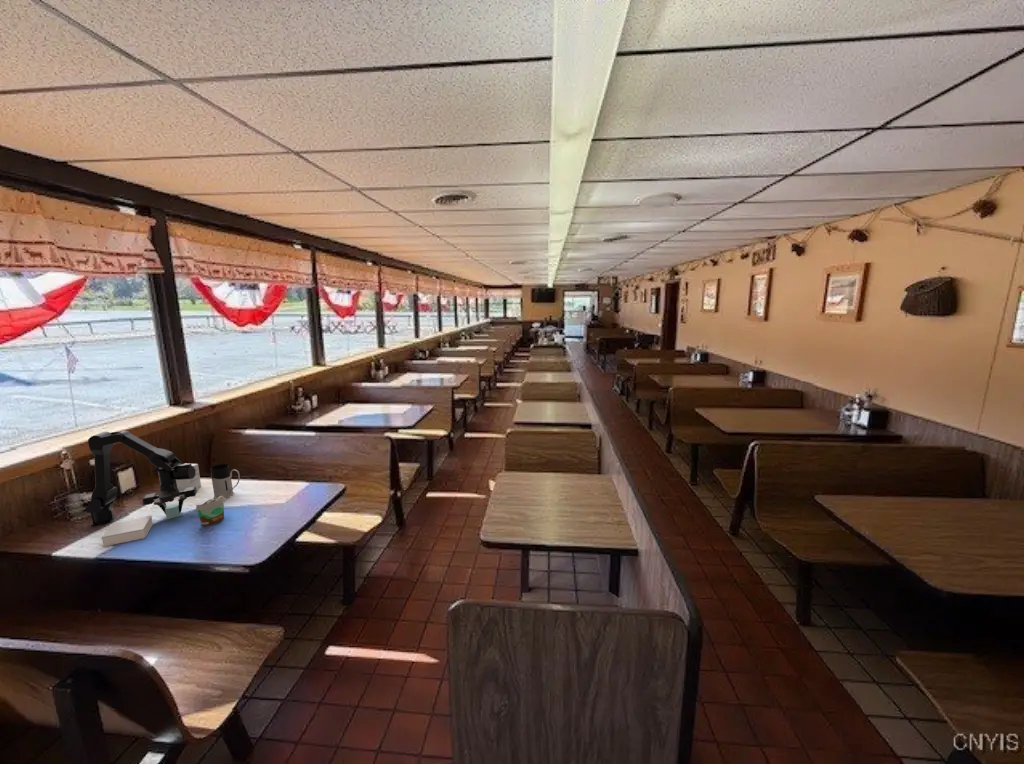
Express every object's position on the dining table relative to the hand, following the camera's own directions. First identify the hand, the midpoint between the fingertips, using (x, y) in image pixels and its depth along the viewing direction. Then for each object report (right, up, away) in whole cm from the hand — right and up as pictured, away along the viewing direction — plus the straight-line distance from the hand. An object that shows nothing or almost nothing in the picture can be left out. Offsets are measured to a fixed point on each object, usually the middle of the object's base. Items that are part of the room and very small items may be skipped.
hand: (173, 513), depth 203 cm
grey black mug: (+13, +3, +19) cm, 23 cm away
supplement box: (-13, +4, +29) cm, 32 cm away
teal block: (0, -1, 0) cm, 1 cm away
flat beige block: (-6, -4, -16) cm, 18 cm away
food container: (+23, -2, -6) cm, 24 cm away
